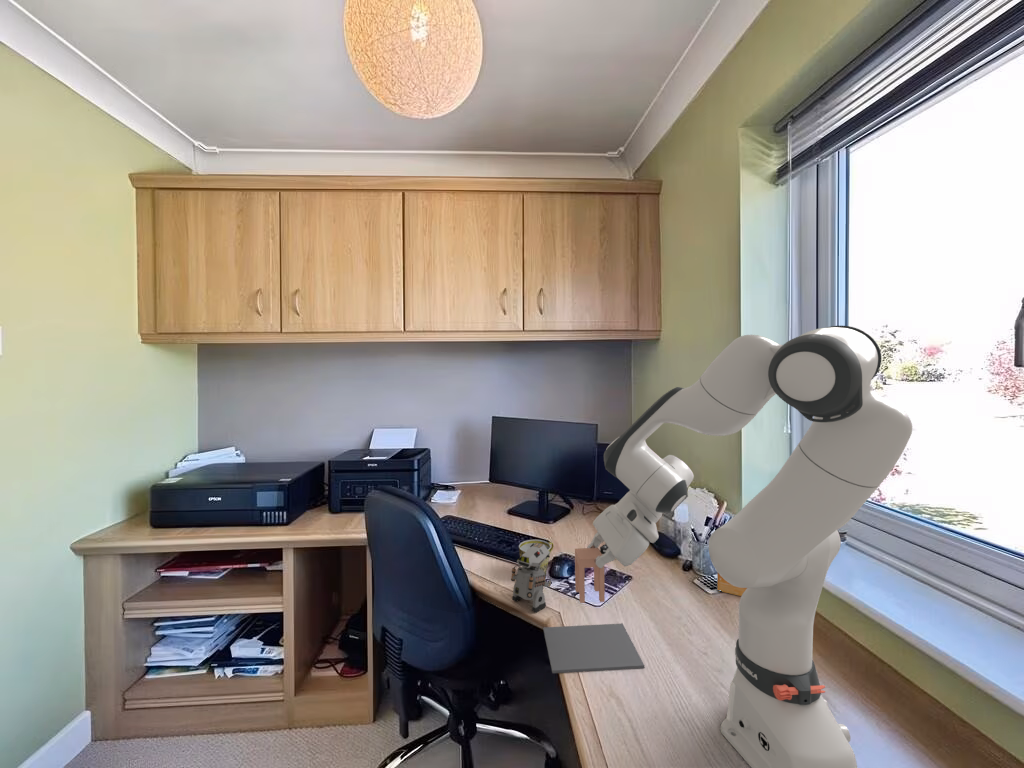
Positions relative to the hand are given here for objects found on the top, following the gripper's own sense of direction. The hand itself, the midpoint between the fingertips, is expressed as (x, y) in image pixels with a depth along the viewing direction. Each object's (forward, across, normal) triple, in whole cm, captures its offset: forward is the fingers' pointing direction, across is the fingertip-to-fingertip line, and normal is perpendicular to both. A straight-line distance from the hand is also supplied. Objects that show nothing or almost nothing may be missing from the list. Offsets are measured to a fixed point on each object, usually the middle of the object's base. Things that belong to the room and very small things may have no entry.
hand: (593, 558), depth 97 cm
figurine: (+24, -20, +7) cm, 32 cm away
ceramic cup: (+21, -34, +9) cm, 42 cm away
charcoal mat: (+16, 0, +14) cm, 21 cm away
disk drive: (-1, -50, +32) cm, 60 cm away
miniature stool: (+7, 0, +6) cm, 9 cm away
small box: (-18, -21, +48) cm, 55 cm away
